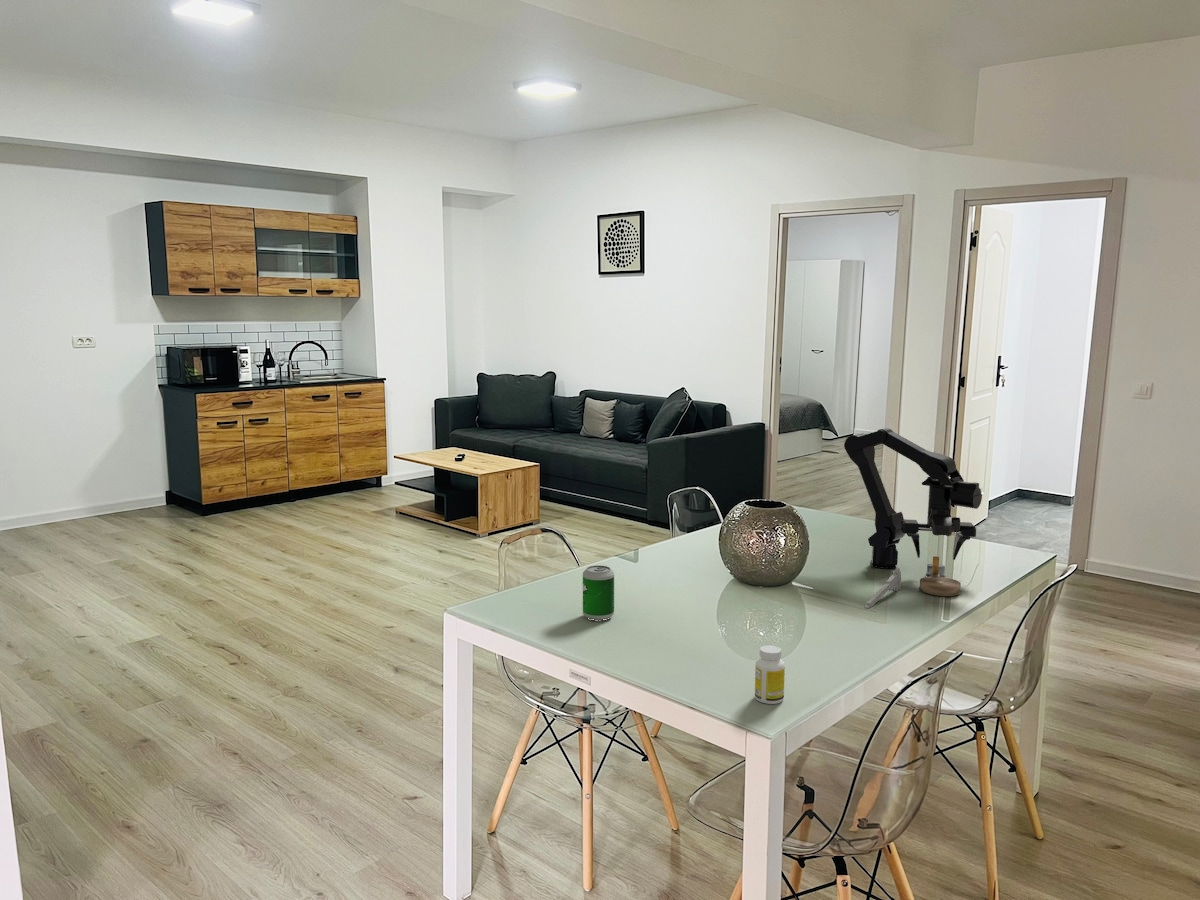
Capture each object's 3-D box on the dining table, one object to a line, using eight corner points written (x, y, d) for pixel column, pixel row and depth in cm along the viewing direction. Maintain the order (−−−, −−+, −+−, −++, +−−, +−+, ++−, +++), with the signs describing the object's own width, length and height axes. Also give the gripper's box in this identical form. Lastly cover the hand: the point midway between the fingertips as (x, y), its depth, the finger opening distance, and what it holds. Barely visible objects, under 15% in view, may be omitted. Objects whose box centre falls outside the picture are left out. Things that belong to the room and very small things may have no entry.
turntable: (963, 597, 227) (965, 571, 226) (922, 594, 229) (923, 569, 228) (953, 581, 241) (955, 557, 240) (914, 579, 243) (916, 555, 242)
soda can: (619, 615, 215) (620, 567, 213) (604, 624, 208) (604, 575, 207) (593, 610, 219) (593, 562, 217) (576, 619, 212) (576, 570, 210)
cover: (926, 579, 244) (927, 567, 244) (924, 573, 249) (924, 562, 249) (947, 580, 243) (947, 568, 243) (943, 575, 248) (944, 563, 248)
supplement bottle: (788, 697, 169) (790, 648, 167) (775, 707, 165) (777, 656, 163) (762, 690, 172) (764, 641, 171) (749, 700, 168) (750, 650, 166)
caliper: (896, 589, 236) (897, 566, 235) (900, 590, 235) (901, 567, 234) (863, 609, 220) (865, 584, 219) (868, 609, 220) (869, 585, 219)
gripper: (907, 507, 237) (904, 564, 239) (982, 511, 233) (978, 568, 236) (902, 499, 248) (899, 553, 250) (973, 502, 244) (969, 557, 246)
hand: (936, 558), depth 245 cm, fingers open, 9 cm apart
